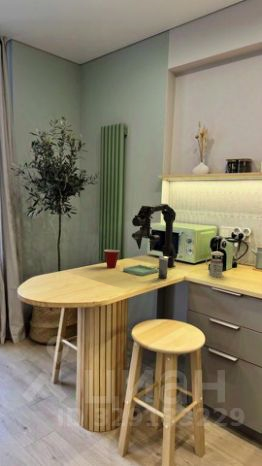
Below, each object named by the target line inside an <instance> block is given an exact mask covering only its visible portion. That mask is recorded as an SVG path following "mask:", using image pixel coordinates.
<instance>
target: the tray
mask: <svg viewBox="0 0 262 466" xmlns="http://www.w3.org/2000/svg"><path fill="white" fill-rule="evenodd" d="M122 269H123V271H122V272H125V273H128V274H131V275H135V276H139V277H144V276H148V275H152V274H155V273H159V268H156V267H151V266H147V265H143V264H137V265H132V266H126V267H123V268H122Z"/></svg>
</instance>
